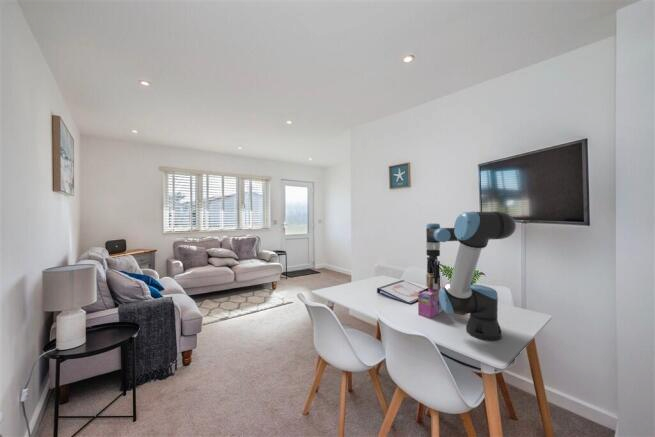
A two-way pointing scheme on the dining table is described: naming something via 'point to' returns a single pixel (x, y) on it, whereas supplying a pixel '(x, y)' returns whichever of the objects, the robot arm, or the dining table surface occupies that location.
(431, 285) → the walnut block
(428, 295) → the gum box
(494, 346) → the dining table surface
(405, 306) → the dining table surface
